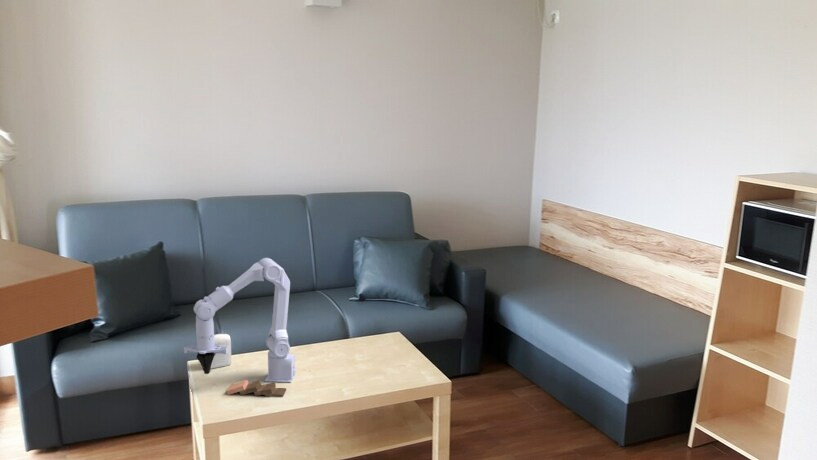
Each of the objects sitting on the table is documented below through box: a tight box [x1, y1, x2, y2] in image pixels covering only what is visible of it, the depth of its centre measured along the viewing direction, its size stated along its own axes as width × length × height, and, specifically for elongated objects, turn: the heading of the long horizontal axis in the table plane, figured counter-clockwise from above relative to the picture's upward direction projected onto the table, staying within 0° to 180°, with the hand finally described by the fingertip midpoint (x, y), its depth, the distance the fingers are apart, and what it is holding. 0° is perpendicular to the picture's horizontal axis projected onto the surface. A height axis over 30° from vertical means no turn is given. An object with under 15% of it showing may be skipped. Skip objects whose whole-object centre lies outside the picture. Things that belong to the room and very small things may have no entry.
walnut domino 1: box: [239, 380, 262, 396], centre depth 212 cm, size 2×5×6 cm
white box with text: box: [210, 333, 232, 370], centre depth 231 cm, size 10×4×12 cm, turn 123°
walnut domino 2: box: [253, 382, 277, 397], centre depth 211 cm, size 2×5×6 cm
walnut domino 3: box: [264, 387, 287, 398], centre depth 212 cm, size 2×5×6 cm
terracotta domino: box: [226, 379, 249, 396], centre depth 212 cm, size 2×5×6 cm
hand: (207, 372), depth 211 cm, fingers closed
